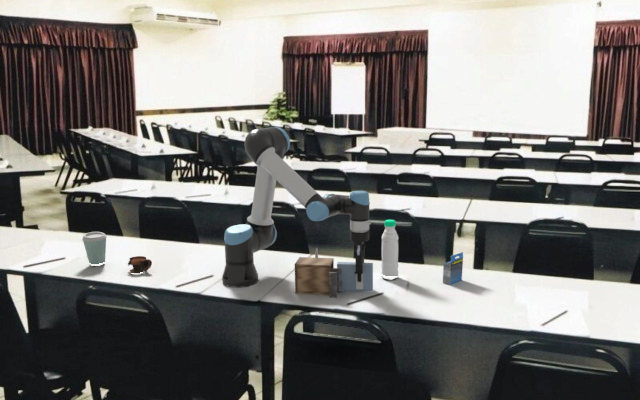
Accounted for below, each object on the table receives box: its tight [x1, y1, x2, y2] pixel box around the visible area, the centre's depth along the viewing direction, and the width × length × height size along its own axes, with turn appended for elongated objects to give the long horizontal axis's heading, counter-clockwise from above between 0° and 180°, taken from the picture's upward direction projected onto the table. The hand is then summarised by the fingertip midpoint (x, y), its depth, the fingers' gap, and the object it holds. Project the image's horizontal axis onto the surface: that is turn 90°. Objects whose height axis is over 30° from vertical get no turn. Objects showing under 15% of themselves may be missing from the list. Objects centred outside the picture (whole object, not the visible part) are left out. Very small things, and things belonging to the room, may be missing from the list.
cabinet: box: [294, 256, 340, 299], centre depth 243 cm, size 17×13×12 cm
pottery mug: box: [127, 255, 153, 273], centre depth 274 cm, size 12×10×8 cm
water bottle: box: [380, 219, 399, 277], centre depth 258 cm, size 7×7×25 cm
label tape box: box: [442, 251, 464, 286], centre depth 253 cm, size 9×4×12 cm, turn 134°
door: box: [336, 261, 374, 292], centre depth 245 cm, size 14×3×11 cm, turn 81°
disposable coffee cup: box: [82, 231, 107, 264], centre depth 284 cm, size 11×11×15 cm
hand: (360, 287), depth 245 cm, fingers closed on door, 3 cm apart
